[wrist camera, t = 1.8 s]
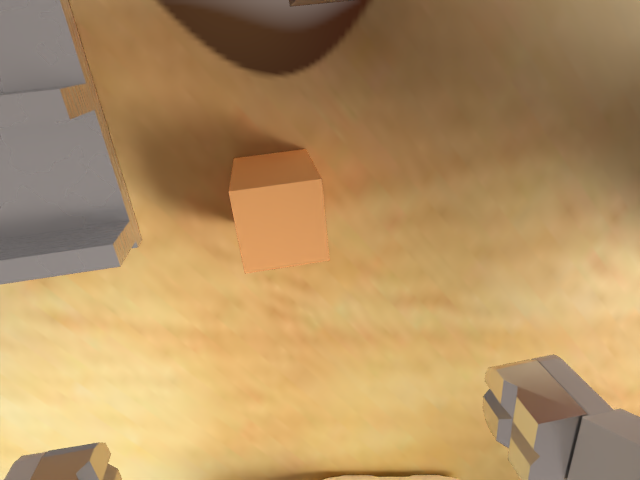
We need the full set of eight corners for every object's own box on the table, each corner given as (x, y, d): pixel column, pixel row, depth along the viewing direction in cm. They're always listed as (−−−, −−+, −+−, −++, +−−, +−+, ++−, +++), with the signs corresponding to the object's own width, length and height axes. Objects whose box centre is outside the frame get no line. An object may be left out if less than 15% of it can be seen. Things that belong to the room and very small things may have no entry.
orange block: (305, 148, 23) (321, 178, 18) (313, 214, 25) (329, 260, 20) (233, 158, 23) (228, 191, 18) (246, 224, 25) (244, 273, 19)
